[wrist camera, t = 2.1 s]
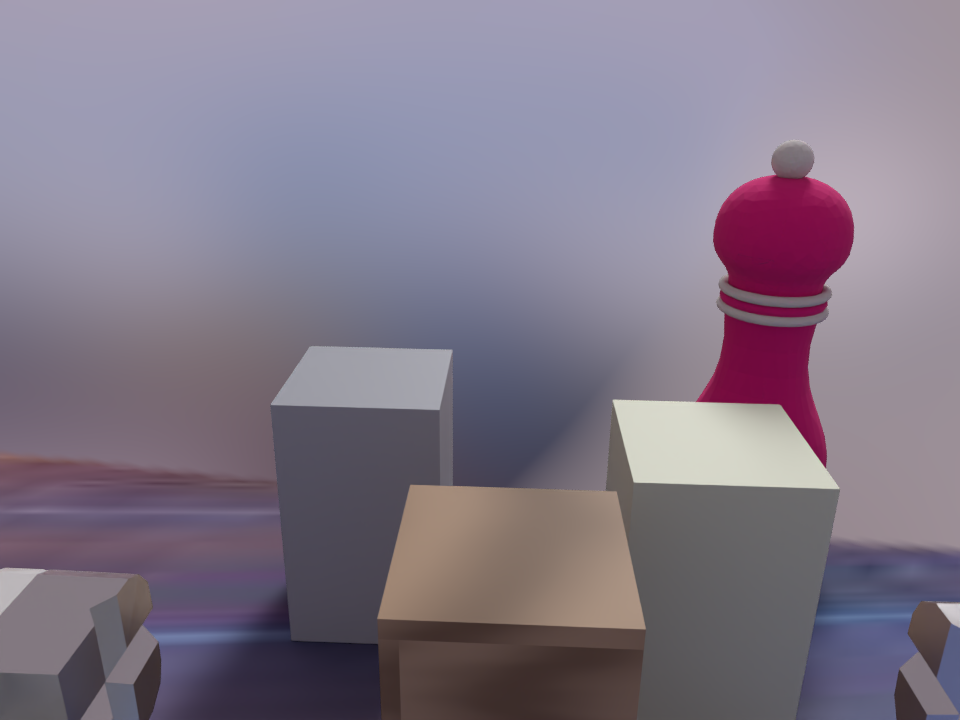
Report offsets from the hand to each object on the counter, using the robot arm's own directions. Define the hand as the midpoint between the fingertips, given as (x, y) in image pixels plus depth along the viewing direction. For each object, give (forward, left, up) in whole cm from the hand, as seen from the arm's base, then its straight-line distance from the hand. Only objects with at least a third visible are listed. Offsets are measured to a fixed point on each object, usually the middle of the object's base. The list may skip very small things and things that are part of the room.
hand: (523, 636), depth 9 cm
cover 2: (+7, +19, -18) cm, 27 cm away
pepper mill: (+12, +31, -18) cm, 38 cm away
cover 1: (-6, +24, -18) cm, 31 cm away
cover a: (0, +12, -18) cm, 22 cm away
